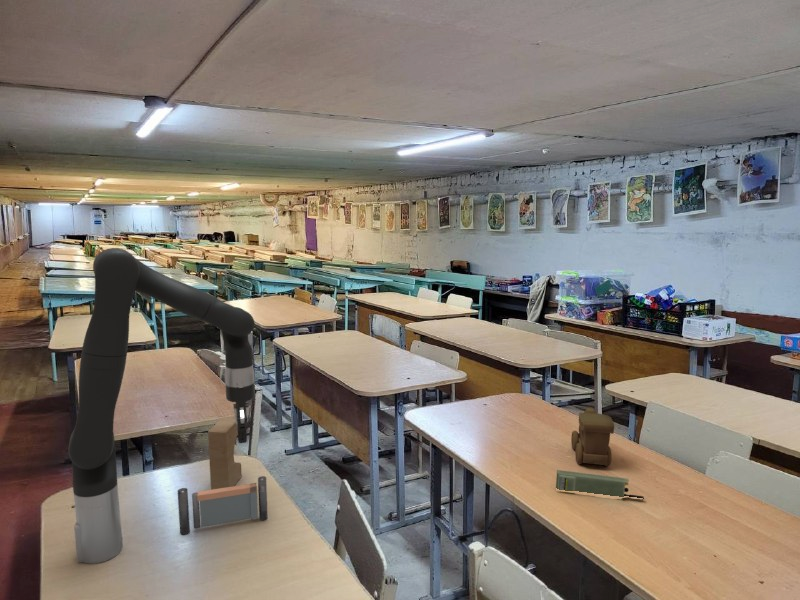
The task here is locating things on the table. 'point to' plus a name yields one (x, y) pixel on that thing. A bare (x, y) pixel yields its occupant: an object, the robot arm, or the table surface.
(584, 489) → the handheld radio
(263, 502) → the gate frame
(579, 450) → the wooden toy train
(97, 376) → the robot arm
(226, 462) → the decorative block
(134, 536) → the table surface
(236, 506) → the gate
